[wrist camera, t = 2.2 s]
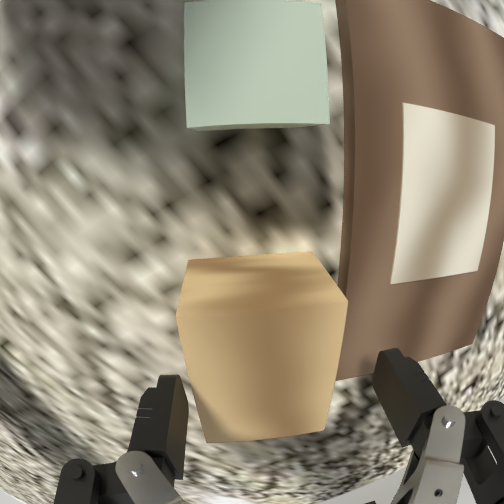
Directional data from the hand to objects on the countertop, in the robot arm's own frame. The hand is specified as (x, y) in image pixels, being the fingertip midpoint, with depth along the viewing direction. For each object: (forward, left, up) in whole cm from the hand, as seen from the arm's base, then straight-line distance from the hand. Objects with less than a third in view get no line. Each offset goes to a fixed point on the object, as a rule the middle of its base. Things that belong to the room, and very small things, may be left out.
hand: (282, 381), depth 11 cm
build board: (+10, +6, -5) cm, 13 cm away
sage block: (-1, +11, -5) cm, 12 cm away
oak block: (-1, -1, -5) cm, 5 cm away
